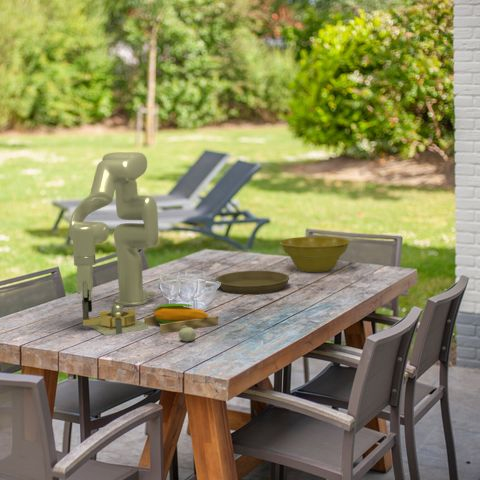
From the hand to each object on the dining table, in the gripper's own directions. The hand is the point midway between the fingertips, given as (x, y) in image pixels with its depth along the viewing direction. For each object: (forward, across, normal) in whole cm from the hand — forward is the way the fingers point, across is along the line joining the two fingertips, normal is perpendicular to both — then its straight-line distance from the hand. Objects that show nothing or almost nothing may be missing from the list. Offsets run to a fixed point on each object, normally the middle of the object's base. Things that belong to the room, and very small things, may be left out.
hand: (87, 311), depth 341 cm
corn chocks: (+6, +4, +33) cm, 34 cm away
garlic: (+6, +26, +34) cm, 43 cm away
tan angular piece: (+4, +3, +8) cm, 9 cm away
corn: (+6, +4, +33) cm, 34 cm away
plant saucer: (+7, -57, +65) cm, 87 cm away
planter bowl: (+7, -90, +98) cm, 133 cm away
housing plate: (+6, +3, +10) cm, 12 cm away
